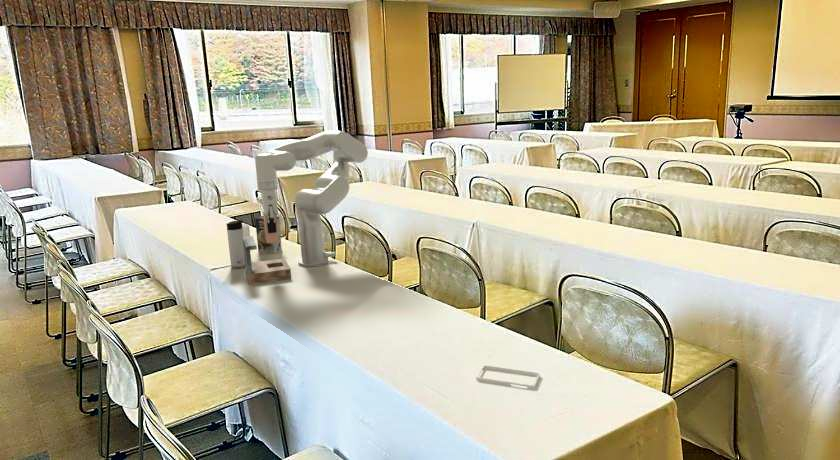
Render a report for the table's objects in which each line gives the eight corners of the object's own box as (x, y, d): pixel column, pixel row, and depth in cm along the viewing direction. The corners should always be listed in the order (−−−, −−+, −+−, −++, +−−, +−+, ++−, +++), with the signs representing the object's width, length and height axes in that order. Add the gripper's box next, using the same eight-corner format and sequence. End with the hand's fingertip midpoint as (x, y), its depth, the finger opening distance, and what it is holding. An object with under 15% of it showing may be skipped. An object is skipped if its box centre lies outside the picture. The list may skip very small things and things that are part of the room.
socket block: (285, 267, 257) (282, 232, 254) (291, 278, 243) (288, 241, 239) (246, 272, 252) (242, 237, 248) (249, 284, 237) (245, 246, 234)
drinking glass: (255, 257, 274) (252, 224, 270) (245, 261, 268) (241, 227, 265) (243, 255, 277) (240, 223, 273) (233, 260, 271) (229, 226, 267)
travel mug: (243, 269, 257) (238, 222, 252) (228, 268, 258) (223, 222, 253) (249, 264, 263) (245, 219, 258) (235, 264, 264) (230, 218, 259)
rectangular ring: (540, 377, 158) (483, 369, 163) (540, 372, 158) (483, 364, 163) (534, 391, 151) (475, 382, 157) (534, 386, 151) (475, 377, 156)
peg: (277, 239, 248) (274, 210, 245) (278, 242, 243) (276, 212, 241) (265, 240, 246) (263, 211, 243) (267, 243, 242) (264, 213, 239)
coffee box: (257, 252, 282) (254, 218, 278) (266, 248, 287) (262, 215, 283) (274, 254, 278) (271, 219, 274) (282, 250, 284) (279, 216, 280)
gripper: (280, 188, 233) (284, 234, 237) (274, 181, 248) (278, 225, 253) (259, 189, 231) (264, 237, 235) (255, 183, 246) (259, 227, 250)
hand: (271, 230), depth 244 cm, fingers closed on peg, 4 cm apart
